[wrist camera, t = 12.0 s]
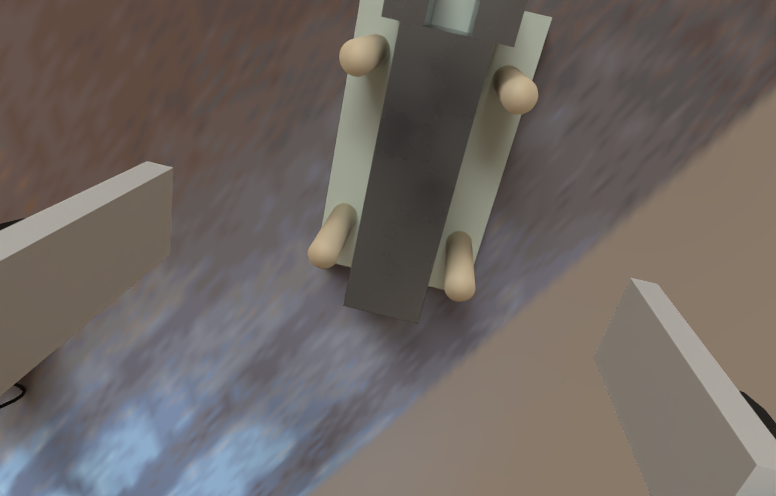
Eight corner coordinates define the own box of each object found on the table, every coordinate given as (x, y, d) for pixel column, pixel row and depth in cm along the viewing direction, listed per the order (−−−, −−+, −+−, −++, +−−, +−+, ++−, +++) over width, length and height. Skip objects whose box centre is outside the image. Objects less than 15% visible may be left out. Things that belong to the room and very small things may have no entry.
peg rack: (464, 284, 36) (466, 348, 29) (321, 249, 36) (290, 304, 29) (547, 17, 28) (576, 18, 22) (369, -25, 29) (341, -37, 22)
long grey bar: (436, 268, 34) (432, 327, 27) (352, 248, 34) (328, 302, 27) (517, -23, 26) (537, -35, 20) (410, -47, 27) (396, -67, 20)
